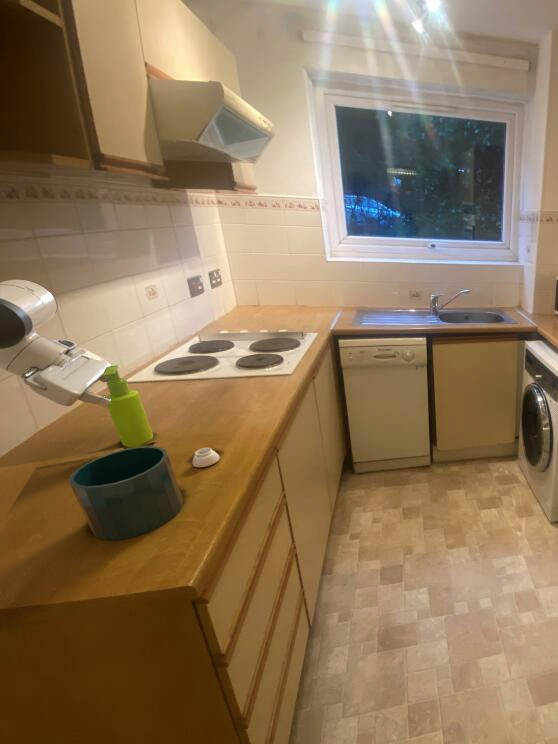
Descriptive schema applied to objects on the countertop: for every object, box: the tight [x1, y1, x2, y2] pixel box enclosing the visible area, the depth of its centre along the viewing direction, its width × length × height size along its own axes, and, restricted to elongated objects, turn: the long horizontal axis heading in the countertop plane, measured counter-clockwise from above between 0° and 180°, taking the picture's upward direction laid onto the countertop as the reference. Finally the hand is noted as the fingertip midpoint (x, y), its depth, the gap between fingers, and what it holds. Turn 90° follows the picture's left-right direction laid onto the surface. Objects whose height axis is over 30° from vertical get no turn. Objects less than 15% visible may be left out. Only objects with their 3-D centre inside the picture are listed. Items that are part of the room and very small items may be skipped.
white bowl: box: [191, 447, 220, 468], centre depth 97 cm, size 5×3×5 cm
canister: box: [68, 445, 184, 542], centre depth 79 cm, size 13×13×11 cm
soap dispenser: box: [103, 364, 156, 450], centre depth 100 cm, size 6×7×20 cm
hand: (117, 395), depth 99 cm, fingers open, 8 cm apart
